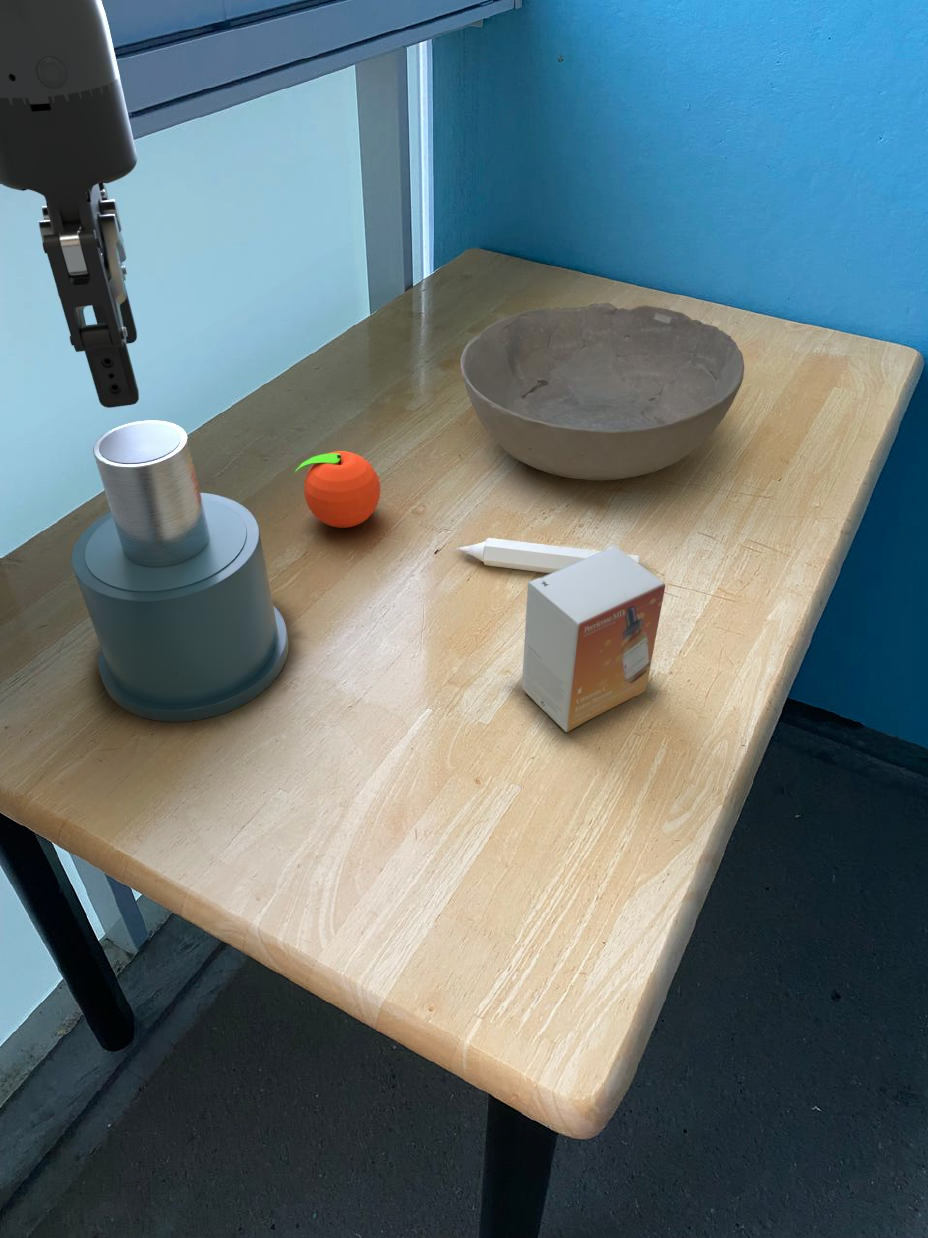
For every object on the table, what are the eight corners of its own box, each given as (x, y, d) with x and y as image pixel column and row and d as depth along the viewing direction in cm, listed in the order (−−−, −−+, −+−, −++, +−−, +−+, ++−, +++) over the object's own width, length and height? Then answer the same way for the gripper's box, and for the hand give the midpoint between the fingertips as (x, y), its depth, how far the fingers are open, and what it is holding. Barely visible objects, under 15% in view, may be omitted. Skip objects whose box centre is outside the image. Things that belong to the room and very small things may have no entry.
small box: (565, 735, 67) (576, 626, 60) (519, 689, 70) (524, 580, 64) (649, 691, 70) (668, 582, 63) (601, 649, 74) (615, 541, 67)
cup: (123, 573, 63) (91, 472, 58) (123, 524, 68) (93, 426, 62) (212, 559, 65) (189, 458, 59) (206, 511, 69) (184, 414, 64)
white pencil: (455, 562, 84) (635, 582, 81) (451, 565, 81) (635, 585, 79) (458, 533, 83) (639, 552, 80) (453, 535, 81) (639, 554, 78)
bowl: (755, 412, 102) (774, 325, 96) (679, 547, 84) (697, 450, 77) (527, 362, 112) (530, 279, 105) (413, 472, 93) (409, 381, 87)
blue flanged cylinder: (100, 739, 67) (55, 623, 60) (103, 613, 77) (65, 501, 70) (300, 700, 70) (280, 585, 62) (277, 583, 80) (257, 473, 73)
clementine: (291, 542, 85) (281, 476, 80) (302, 500, 90) (293, 434, 85) (379, 543, 85) (374, 476, 80) (385, 500, 90) (380, 434, 85)
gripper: (-23, 51, 51) (62, 331, 62) (-59, 112, 41) (51, 436, 52) (118, 42, 53) (178, 318, 64) (117, 100, 43) (189, 417, 53)
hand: (121, 371), depth 58 cm, fingers open, 8 cm apart
